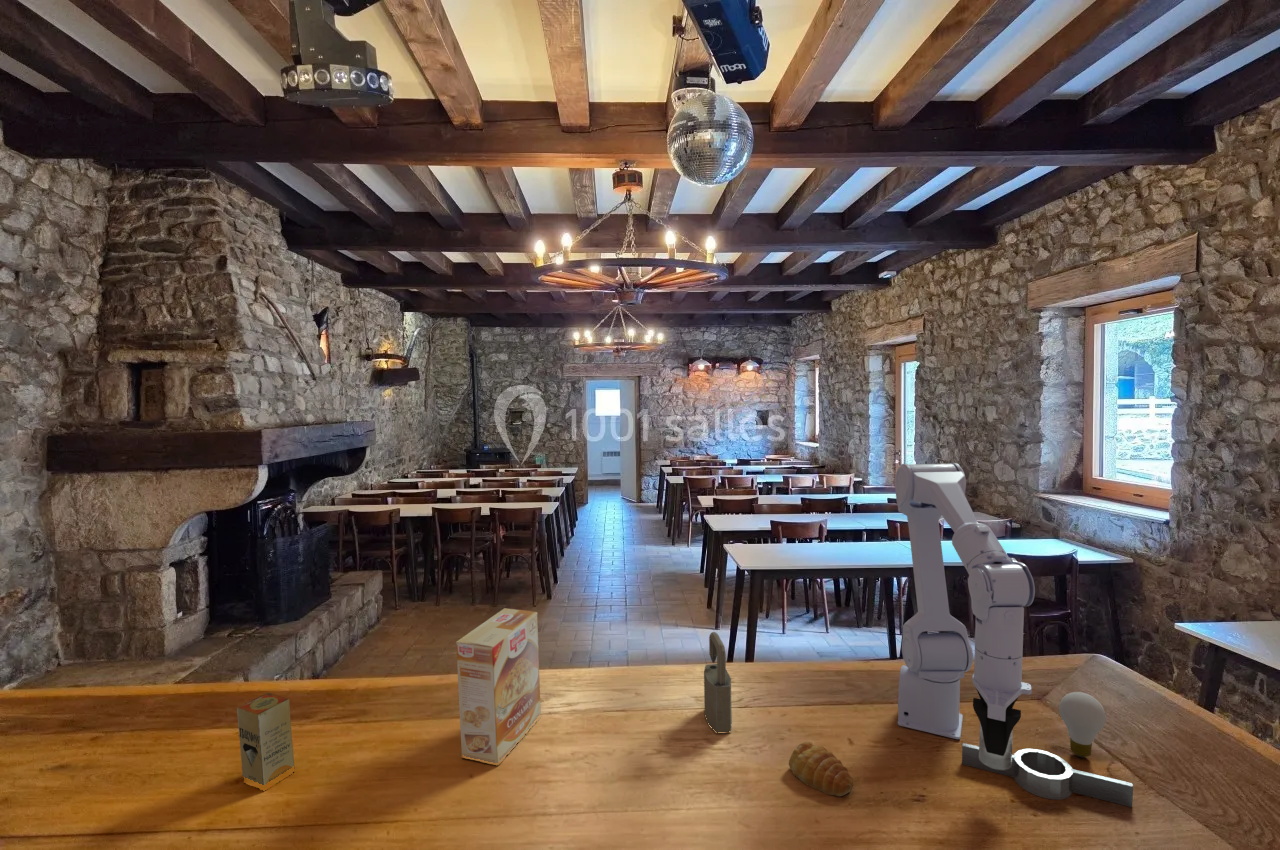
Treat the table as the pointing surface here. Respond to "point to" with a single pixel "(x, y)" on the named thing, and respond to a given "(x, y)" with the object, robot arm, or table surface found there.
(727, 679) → the padlock
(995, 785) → the table surface
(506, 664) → the coffeecake box
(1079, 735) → the light bulb
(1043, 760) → the hinge
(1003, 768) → the hinge pin
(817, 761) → the pastry
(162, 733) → the table surface
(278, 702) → the shoe polish box
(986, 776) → the table surface
